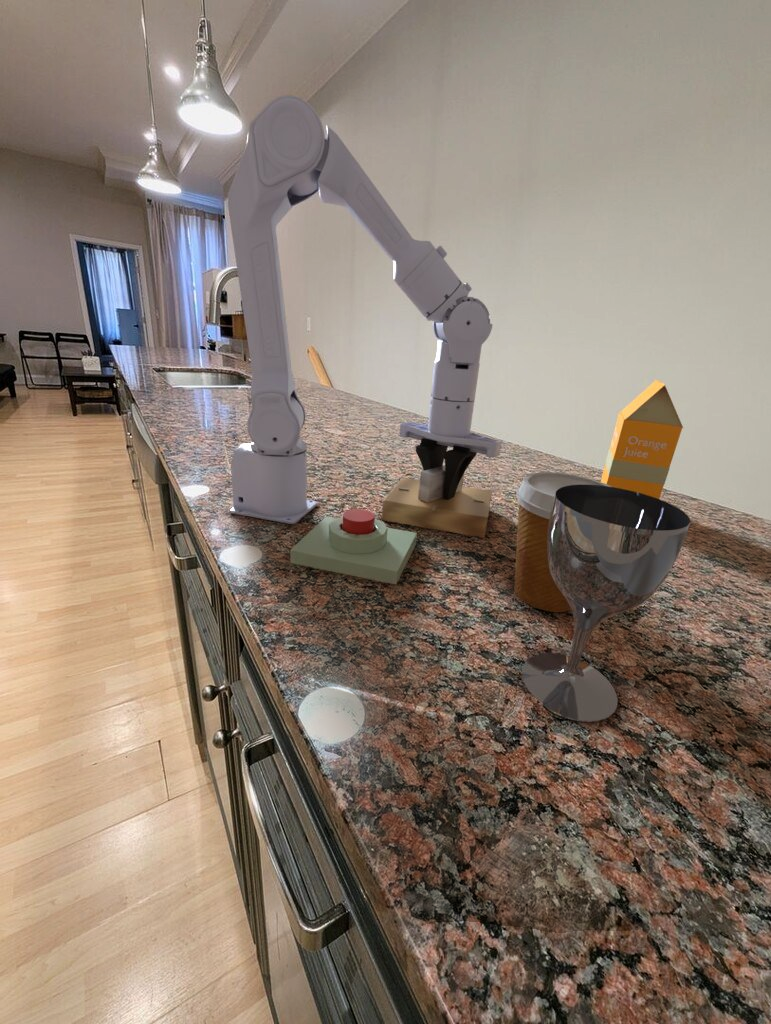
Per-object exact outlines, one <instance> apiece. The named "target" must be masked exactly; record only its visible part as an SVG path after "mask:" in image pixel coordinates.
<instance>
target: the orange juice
mask: <svg viewBox="0 0 771 1024" xmlns="http://www.w3.org/2000/svg"><path fill="white" fill-rule="evenodd" d="M683 429H684V426H683V424H682V422H681V419H680V418H679V415H678V413H677V410H676V407H675V405H674V403H673V400H672V398H671V396H670V394H669V391H668V389H667V386H666V384H665V383H663V382H662V381H659V380H658V379H655V380H654V381H653V382H651V384H649V386H647V387H646V388H645V389H644V390H643V391H642V392H640V394H639V395H637V396H636V397H635V398H634V399H633V400H632V401H631V402H630V403H629V404H627V405H626V406H625V407H624V408H623V409H622V410H620V411H619V412H618V416H617V419H616V422H615V427H614V430H613V434H612V439H611V441H610V446H609V448H608V452H607V454H606V455H607V456H606V459H605V464H604V468H603V470H602V471H603V472H602V476H601V480H600V482H602V483H605V484H607V485H609V486H611V487H615V488H620V489H625V490H630V491H634V492H638V493H642V494H645V495H648V496H651V497H654V498H657V499H660V498H661V496H662V492H663V489H664V486H665V484H666V481H667V478H668V475H669V472H670V468H671V464H672V462H673V458H674V455H675V452H676V449H677V445H678V442H679V439H680V436H681V434H682V430H683Z"/></svg>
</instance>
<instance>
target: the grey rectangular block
mask: <svg viewBox="0 0 771 1024" xmlns="http://www.w3.org/2000/svg"><path fill="white" fill-rule="evenodd" d="M464 478H465V473H464V474H463V476H462V478H461V480H460V482H459V485H458V487H457V490H456V493H458V492H461V491H462V487H464V486H463V485H464V480H465V479H464ZM419 480H420V484H419V493H418V499H419V500H422V501H425V502H427V503H428V502H431V501H434V500H437V499H440V498H443V491H444V484H445V464H443V466H440V467H436V468H432V469H429V470H425V471H424V470H421V471H420V475H419Z"/></svg>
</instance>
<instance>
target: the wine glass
mask: <svg viewBox="0 0 771 1024" xmlns="http://www.w3.org/2000/svg"><path fill="white" fill-rule="evenodd" d="M690 525H691V519H690V517H689V515H688V514H687V513H686V512H684V511H683V510H682V509H680V508H679V507H677V506H675V505H673V504H671V503H669V502H667V501H664V500H662V499H660V498H659V499H657V498H654V497H651V496H648V495H645V494H642V493H638V492H634V491H630V490H625V489H620V488H615V487H608V486H600V485H570V486H565V487H561V488H560V489H558V490H557V491H556V493H555V496H554V500H553V504H552V508H551V514H550V519H549V525H548V538H547V561H548V567H549V571H550V574H551V576H552V578H553V581H554V583H555V584H556V586H557V587H558V589H559V590H560V592H561V593H562V595H563V596H564V598H565V599H566V601H567V602H568V604H569V606H570V608H571V610H570V611H571V612H572V613H571V614H572V616H573V621H574V625H573V626H574V627H573V628H574V629H573V637H572V643H571V649H570V654H569V655H567V654H562V653H557V652H542V653H539V654H536V655H533V656H531V657H530V658H528V659H527V660H526V661H524V663H523V666H522V669H521V678H522V681H523V682H524V685H525V688H526V689H527V690H528V692H529V693H530V694H531V695H532V696H533V697H534V698H535V699H536V700H537V701H538V702H540V703H541V704H542V707H543V708H544V709H546V710H548V711H550V712H551V713H553V714H555V715H558V716H560V717H562V718H565V719H568V720H572V721H577V722H580V723H581V722H583V723H596V722H602V721H605V720H607V719H609V718H610V717H612V716H613V715H614V714H615V713H616V711H617V708H618V704H619V699H618V695H617V692H616V690H615V688H614V687H613V685H612V683H611V682H610V681H609V680H608V679H607V677H606V676H605V675H603V674H602V673H601V672H600V671H599V670H598V669H596V667H593V666H592V665H590V664H588V663H587V662H585V661H583V660H581V659H582V657H583V653H584V651H585V649H586V646H587V644H588V642H589V640H590V639H591V636H592V634H593V632H594V631H595V629H596V628H597V627H598V626H599V625H600V624H601V623H603V622H605V621H606V620H608V619H610V618H612V617H614V616H618V615H620V614H622V613H625V612H628V611H630V610H633V609H636V608H637V607H639V606H641V605H642V604H644V603H646V602H647V601H648V600H650V599H651V598H652V597H653V595H655V594H656V592H657V591H658V590H659V588H660V587H661V586H662V585H663V583H664V581H665V580H666V579H667V577H668V576H669V573H670V572H671V570H672V568H673V567H674V565H675V563H676V561H677V559H678V556H679V554H680V552H681V550H682V547H683V544H684V542H685V539H686V537H687V535H688V531H689V528H690Z"/></svg>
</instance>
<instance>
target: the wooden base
mask: <svg viewBox="0 0 771 1024" xmlns="http://www.w3.org/2000/svg"><path fill="white" fill-rule="evenodd" d="M419 484H420V479H414V478H408V477H407V478H406V477H401V478H400V480H399V481H398V482H396V484H395V486H394V487H393V488H392V489H391V490H390V492H389V493H388V494H387V495H386V496H385V498H384V499H383V500H382V512H381V514H382V515H381V521H386V522H390V523H391V522H392V523H398V524H402V525H409V526H415V527H421V528H425V529H426V528H427V529H430V530H431V529H432V530H437V531H443V532H450V533H453V534H454V533H455V534H460V535H466V536H472V537H478V538H485V536H486V531H487V524H488V519H489V512H490V507H491V501H492V495H493V491H492V490H488V489H480V488H475V487H468V486H462V491H461V492H458V493H455V496H454V497H453V498H451V499H449V500H445V499H443V498H440V499H437V500H434V501H431V502H428V503H427V502H425V501H422V500H419V499H418V493H419Z"/></svg>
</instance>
